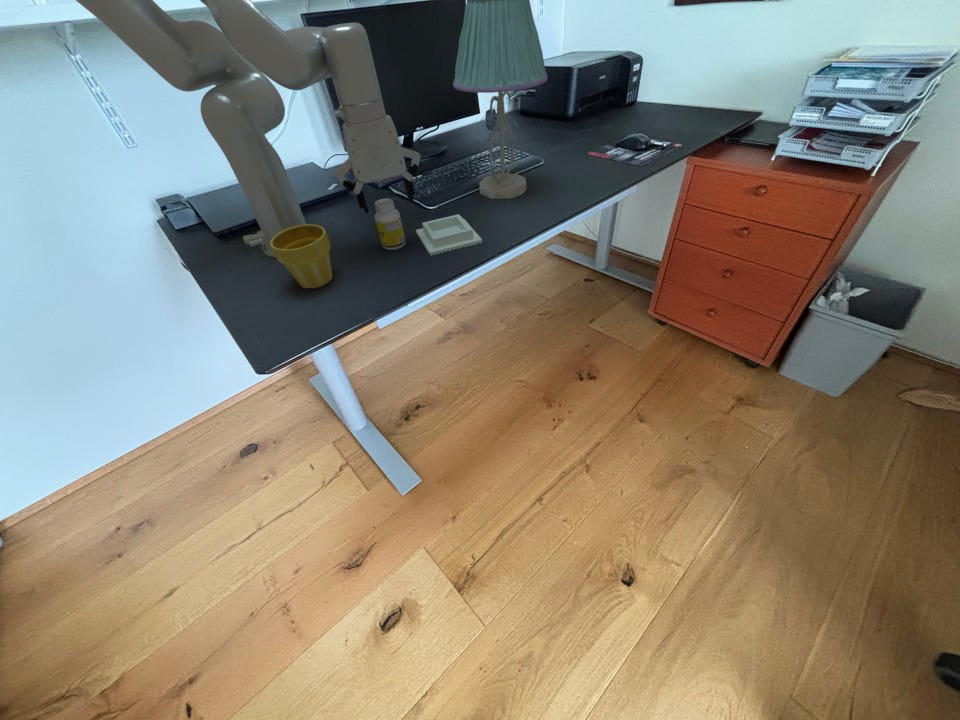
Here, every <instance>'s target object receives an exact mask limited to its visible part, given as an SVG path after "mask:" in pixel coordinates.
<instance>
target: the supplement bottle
mask: <svg viewBox="0 0 960 720" xmlns="http://www.w3.org/2000/svg"><path fill="white" fill-rule="evenodd" d="M374 207H375V208H374V209H375V211H376V213H375V214H374V220H375V225H376V227H377V232H378V234H379V239H380V242H381V246H382V248H383V249H385V250H387V251H388V250H389V251H394V250H398V249H399V250H400V249H402V248H403V247H404V246H405V245H406V244H407V243H406V242H407V241H406V236H405V232H404V227H403V223H402V219H401V215H400V212H399V210H398V209H396V208H395V202H394V200H393V199H391V198H381V199H378V200H376V201H375V202H374Z"/></svg>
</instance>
